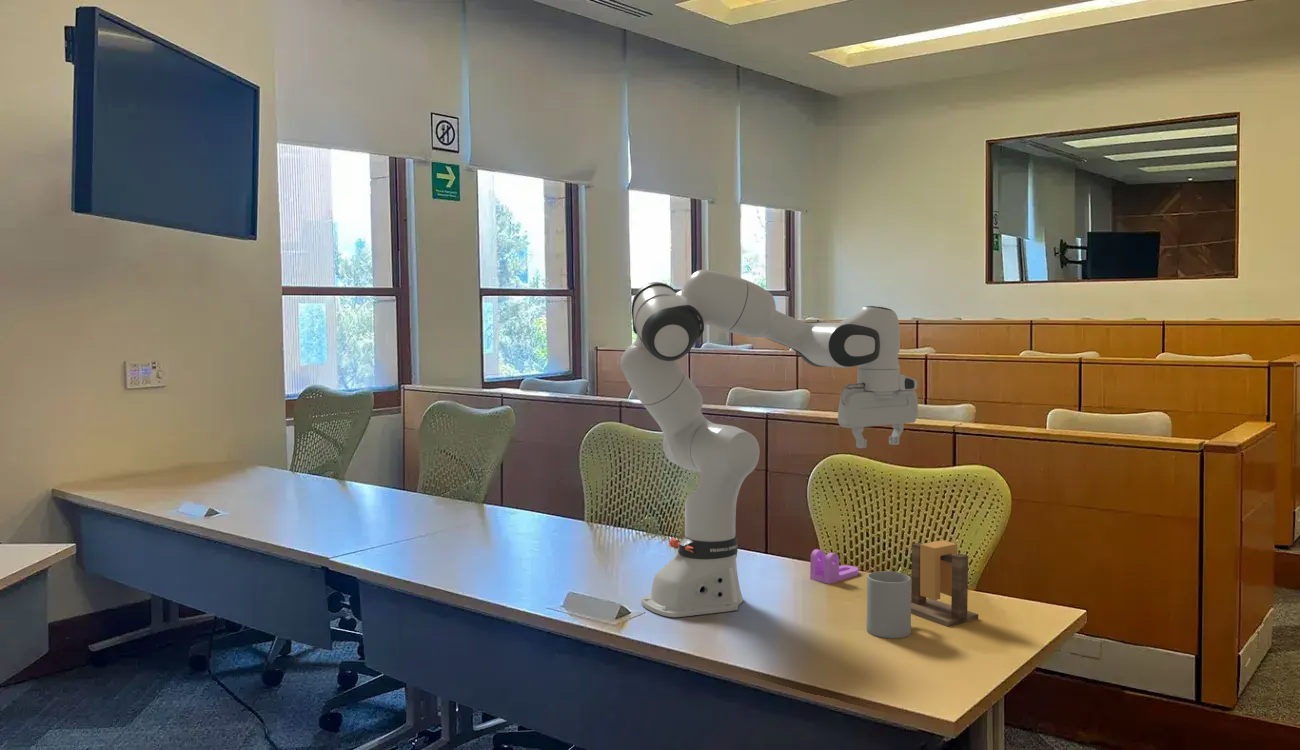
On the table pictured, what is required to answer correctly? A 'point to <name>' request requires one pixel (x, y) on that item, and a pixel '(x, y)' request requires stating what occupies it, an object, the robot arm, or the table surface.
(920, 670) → the table surface
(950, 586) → the tan arch block
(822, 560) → the bracket
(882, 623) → the mug
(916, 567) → the stand with crossbar
